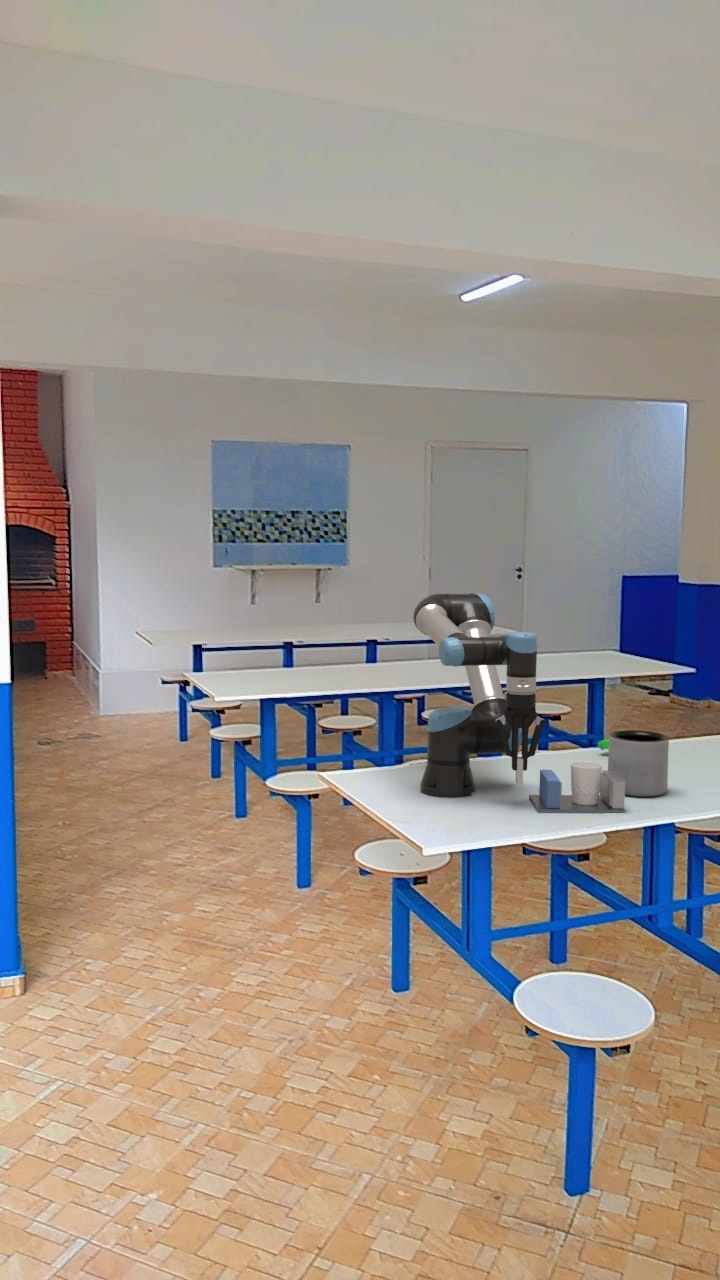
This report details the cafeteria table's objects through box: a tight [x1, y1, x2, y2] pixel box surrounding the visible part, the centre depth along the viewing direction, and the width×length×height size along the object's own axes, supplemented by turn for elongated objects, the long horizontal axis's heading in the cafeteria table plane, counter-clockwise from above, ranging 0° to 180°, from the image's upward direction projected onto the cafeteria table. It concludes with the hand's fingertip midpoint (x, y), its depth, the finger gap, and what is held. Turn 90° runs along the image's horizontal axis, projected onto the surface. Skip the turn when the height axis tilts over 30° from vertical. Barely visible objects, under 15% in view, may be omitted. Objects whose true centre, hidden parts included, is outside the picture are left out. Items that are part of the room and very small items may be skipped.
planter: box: [607, 729, 670, 798], centre depth 276 cm, size 16×16×16 cm
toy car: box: [597, 729, 624, 751], centre depth 329 cm, size 11×7×7 cm, turn 49°
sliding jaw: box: [538, 769, 563, 808], centre depth 261 cm, size 4×12×7 cm, turn 179°
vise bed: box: [528, 794, 626, 815], centre depth 261 cm, size 22×14×1 cm, turn 89°
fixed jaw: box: [599, 769, 626, 809], centre depth 261 cm, size 4×12×7 cm, turn 179°
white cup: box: [570, 760, 603, 805], centre depth 261 cm, size 8×8×10 cm
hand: (519, 782), depth 260 cm, fingers closed
